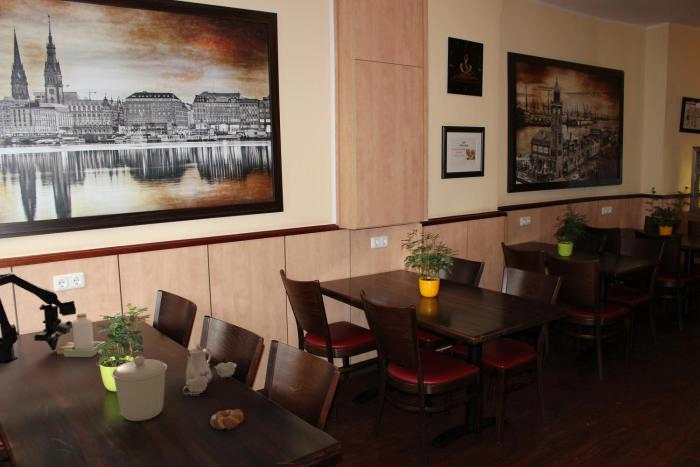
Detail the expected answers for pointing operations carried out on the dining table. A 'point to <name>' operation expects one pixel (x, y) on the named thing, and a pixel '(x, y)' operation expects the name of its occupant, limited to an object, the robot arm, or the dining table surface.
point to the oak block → (65, 347)
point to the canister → (140, 388)
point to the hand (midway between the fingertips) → (53, 349)
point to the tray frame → (82, 352)
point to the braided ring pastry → (226, 419)
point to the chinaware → (203, 370)
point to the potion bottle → (82, 333)
